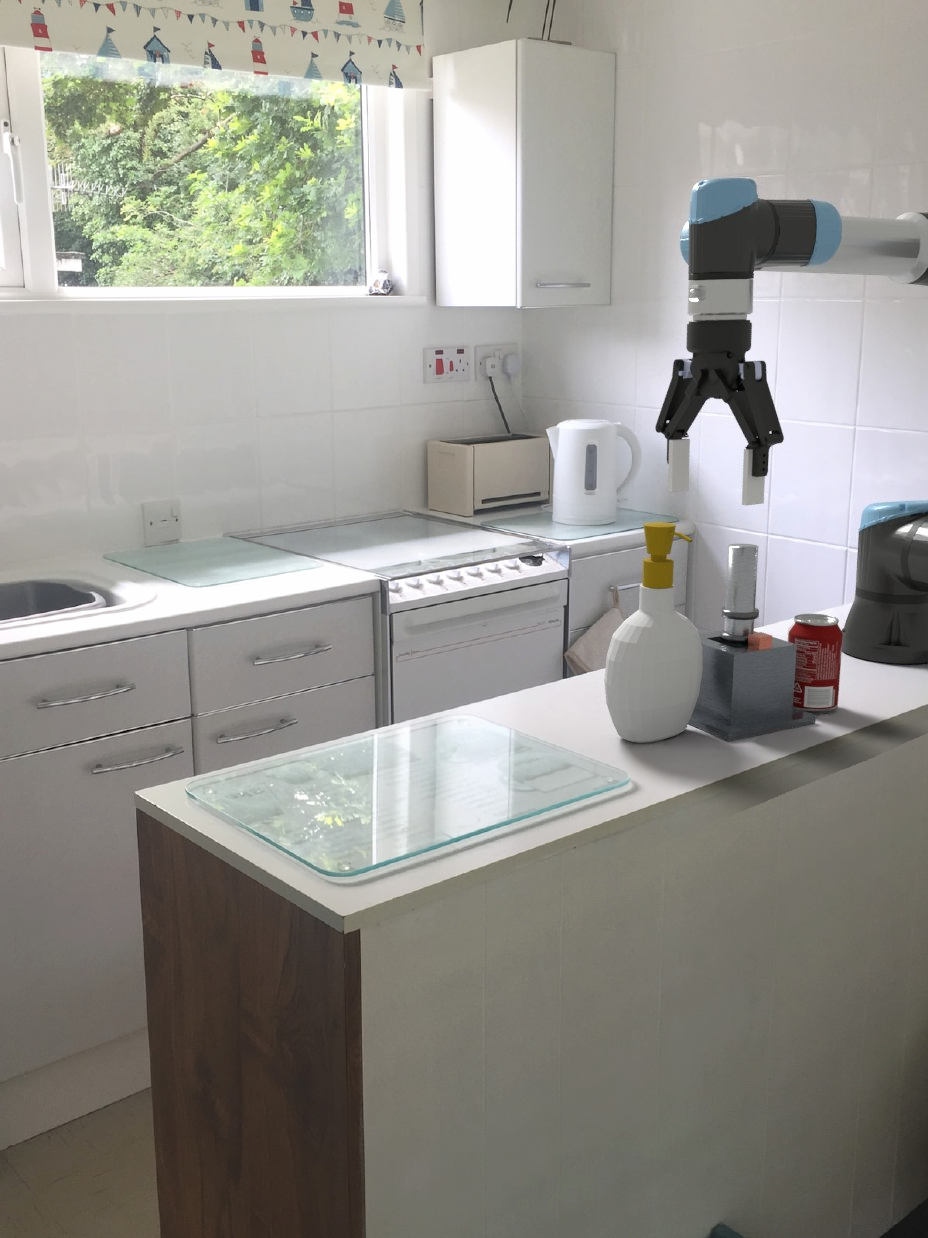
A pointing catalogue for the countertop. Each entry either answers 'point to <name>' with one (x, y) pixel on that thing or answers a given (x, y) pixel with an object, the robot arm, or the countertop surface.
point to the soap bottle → (654, 653)
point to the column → (740, 595)
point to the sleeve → (747, 688)
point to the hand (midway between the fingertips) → (714, 497)
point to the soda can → (816, 662)
